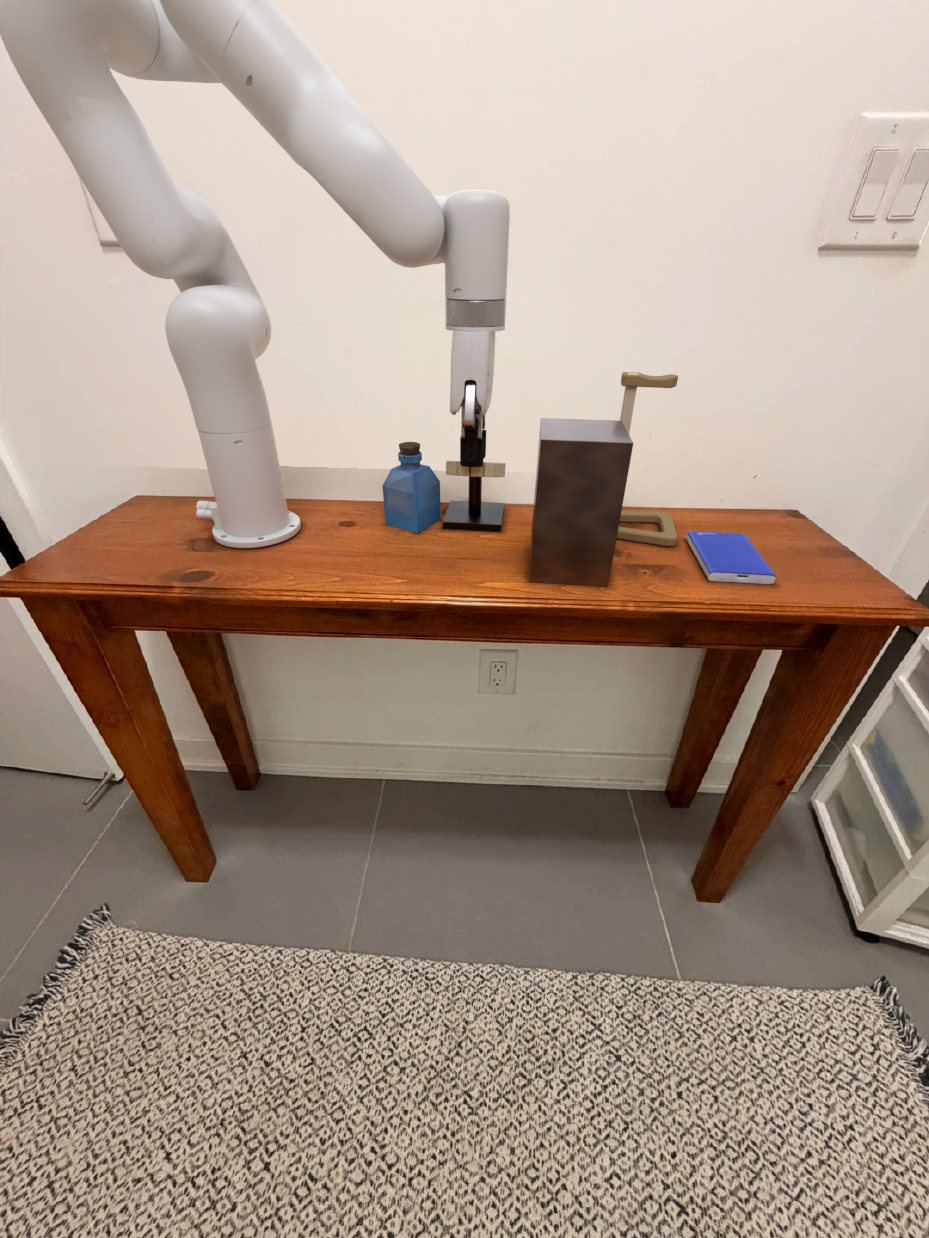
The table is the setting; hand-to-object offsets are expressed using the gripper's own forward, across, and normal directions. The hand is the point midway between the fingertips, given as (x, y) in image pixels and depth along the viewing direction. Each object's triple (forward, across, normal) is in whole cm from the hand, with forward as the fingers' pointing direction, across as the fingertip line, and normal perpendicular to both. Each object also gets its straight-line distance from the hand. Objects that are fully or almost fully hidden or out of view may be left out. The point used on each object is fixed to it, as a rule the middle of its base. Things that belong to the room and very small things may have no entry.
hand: (473, 460), depth 78 cm
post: (+10, -4, 0) cm, 11 cm away
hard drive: (+11, +6, +36) cm, 38 cm away
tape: (+3, -3, 0) cm, 4 cm away
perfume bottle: (+11, -1, -9) cm, 14 cm away
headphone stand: (+11, -2, +25) cm, 27 cm away
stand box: (+10, +11, +14) cm, 21 cm away
